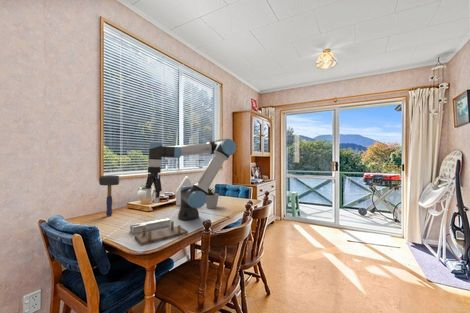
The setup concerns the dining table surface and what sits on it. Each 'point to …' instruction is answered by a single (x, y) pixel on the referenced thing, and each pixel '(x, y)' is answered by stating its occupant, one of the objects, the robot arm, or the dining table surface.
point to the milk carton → (185, 182)
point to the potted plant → (212, 199)
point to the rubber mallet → (109, 189)
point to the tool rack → (160, 234)
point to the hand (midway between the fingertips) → (152, 200)
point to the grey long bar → (149, 225)
